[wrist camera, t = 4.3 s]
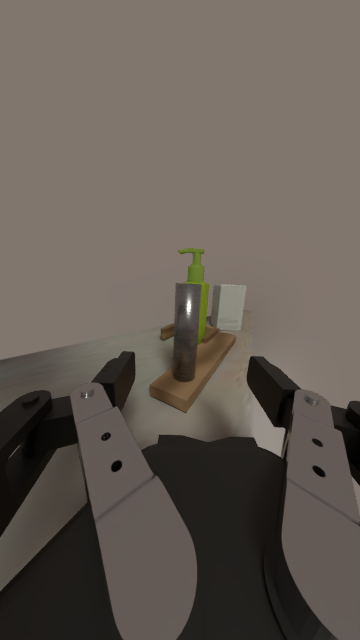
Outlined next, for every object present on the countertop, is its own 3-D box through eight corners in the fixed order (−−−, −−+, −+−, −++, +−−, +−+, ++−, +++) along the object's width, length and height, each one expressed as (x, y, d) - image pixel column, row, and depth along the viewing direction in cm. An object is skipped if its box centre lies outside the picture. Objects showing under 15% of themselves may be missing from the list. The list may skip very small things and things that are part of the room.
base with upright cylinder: (98, 370, 25) (89, 278, 22) (179, 329, 46) (182, 279, 43) (186, 412, 18) (193, 286, 15) (235, 341, 39) (243, 282, 36)
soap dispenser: (178, 334, 43) (181, 251, 38) (205, 337, 42) (212, 251, 37) (172, 342, 38) (175, 246, 33) (203, 346, 36) (211, 246, 31)
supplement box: (241, 331, 48) (247, 286, 45) (215, 330, 48) (220, 285, 44) (232, 323, 55) (236, 284, 52) (209, 323, 55) (213, 283, 51)
